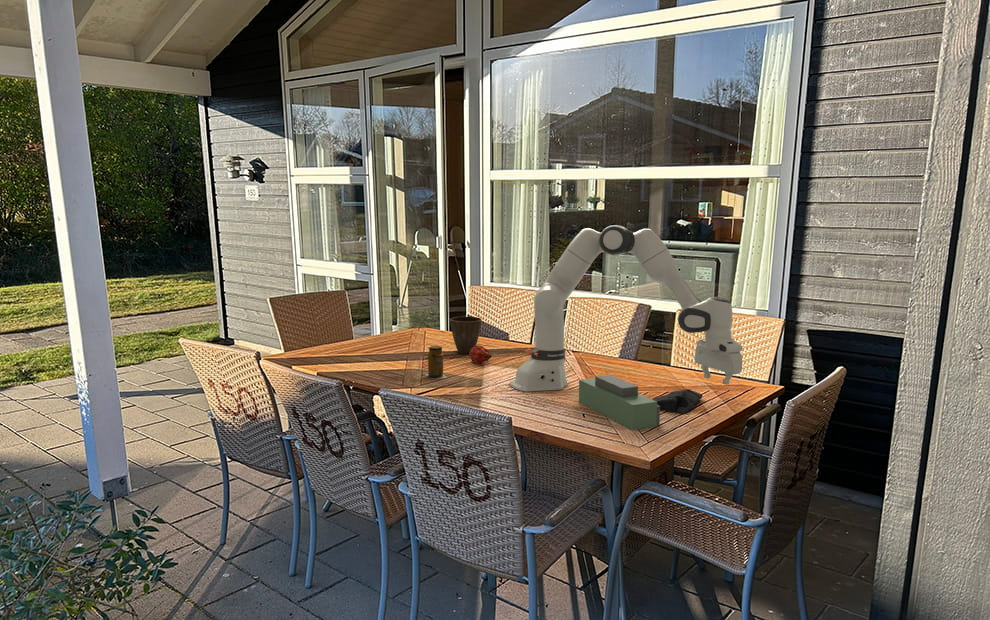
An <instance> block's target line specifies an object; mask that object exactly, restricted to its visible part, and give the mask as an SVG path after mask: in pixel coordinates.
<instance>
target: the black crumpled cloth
mask: <svg viewBox="0 0 990 620" xmlns="http://www.w3.org/2000/svg"><path fill="white" fill-rule="evenodd" d="M651 399H652V400H655V401H657V405H659V406H660V411H663V412H668V413H673V414H674V413H676V414H683V415H685V414H687V412H689V411H691V409H694V407H695V406H696V405H697V403H699V401H700V400H702V399H703V394H702V393H700V392H697V391H694V390H692V389H688V388H687V389H681V390H673V391H671V392H669V393H667V394H665V395H661V396H658V397H655V398H651Z"/></svg>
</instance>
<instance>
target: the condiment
mask: <svg viewBox="0 0 990 620" xmlns="http://www.w3.org/2000/svg"><path fill="white" fill-rule="evenodd" d="M442 349H443V347H442V346H441V345H440V346H439V345H433V346H429V348H428V354H427V369H428V370H427V371H428V373H425V374H424V375H425V376H426V377H427V378H428V379H430V380H440V379H448V377H447V376H446V375H445V374H444V354H443V350H442Z"/></svg>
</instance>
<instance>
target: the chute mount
mask: <svg viewBox="0 0 990 620" xmlns="http://www.w3.org/2000/svg"><path fill="white" fill-rule="evenodd" d="M652 399H653V398H650V397H647V396H645V395H643V394H641V393H639V386H638V385H636V384H634V383H631V382H629V381H626V380H625V379H624V380H623V378H619V377H616V376H615V375H612V374H605V375H596V376H595V377H591V378H583V379H578V403H580V404H582V405H584V406H585V407H587V408H590V409H592V410H594V411H596V412H597V413H599V414H600V415H603V416H605V417H607V418H608V419H610V420H613V421H614V422H616V423H618V424H620V425H621V426H623V427H625V428H627V429H629V430H631V431H635V430H642V429H648V428H654V427H657V426H658V425H660V422H661V421H660V418H661V417H660V416H661V410H660V406H659V405H657V401H655V400H652Z"/></svg>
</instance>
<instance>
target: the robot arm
mask: <svg viewBox="0 0 990 620" xmlns="http://www.w3.org/2000/svg"><path fill="white" fill-rule="evenodd" d="M601 253H605V254H608V255H609V256H615V257H617V256H622V255H625V254H627V253H630V254H631V255H633V256H634V258H635V259H636V260H637V261H638V263H639V265H640V266H641V268H642V270H643V271H644V272H645V273H646V275H647V276H648V277H649V278H650V279H651V280H652V281H654V282H656V283H659V284H662V285H663V286H665V287H666V288H667V289H668V290H669V292H671V294H672V295H673V297H674V298H675V300H676V301H677V303H678V304H679V305H680V307H681V311H680V312H679V314H678V316H677V317H678V318H677V322H678V325H679V327H680V328H681V330H683V331H684V332H686V333H690V334H694V333H695V334H696V333H703V332H704V334H705V335H704V338H700V339H698V340H697V341H696V346H695V352H694V362H695V364H696V365H697V364H698V365H700V366H701V370H702V372H703V378H704V379H706V380H707V379H711V377H712V376H711V372H710V371H709V368H711V369H714V370H717V371H720V372H723V373H724V375H725V377H724V378H722V384H723V385H726V386H727V385H730V380H731V379H732V377H733V375H739V374H741V372H742V369H743V356H742V353H741V352H742V351H743V345H741V344H740V343H739V342H737V341H736V340H735V339H734V338H732V335H733V334H732V325H733V307H732V306H733V305H732V303H731V301H729V300H728V299H726V298H725V297H719V296H709V297H708V298H706V299H705V300H703V301H702V300H700V299H699V298H698V297H697V296H696V295H695V294H694V293H693V291H692V290H691V288H690V287H689V285H688V284H687V282H686V281H685V279H684V277H683V276H682V274H681V272H680V270H679V268H678V267H677V264H676V261H675V260H674V258H673V256H672V254H671V253H670V251H669V249H668V247H667V246H666V245H665V243H664V241H663V240H662V239H661V238H660V237H659V236H658V234H657V233H655V231H654V230H652V229H650V228H642V229H639V230H637V231H636V232H632V231H631V230H628V228H627V227H625V226H623V225H619V224H618V225H616V224H614V225H609V226H607V227H605V228H604V229H603V230H602V231H601V232H599V231H597V230H595V229H592V228H589V227H587V228H583V229H581V230H580V231H579V232H578V233H577V235H575V236H574V238H573V239H572V240H571V241H570V243H569V244H568V245H567V247H566V249H565V250H564V251H563V253H561V256H560V257H559V259H558V260H557V262H556V263H555V265H554V267H553V268H552V270H551V271H550V273H549V274H548V276H547V277H546V279H545V280H544V282H543V284H542V285H541V286H540V288H539V289H538V290H537V291H536V293H535V295H534V299H533V306H534V307H533V308H534V323H535V324H534V325H535V334H534V335H535V338H534V340H535V343H534V344H535V345H534V347H533V349H532V348H526V350H525V351H526V353H527V354H528V355H530V358H529V359H527V360H526V361H525V362H524V363H523V364H522V365H520V366H519V367H518V368H517V369H516V372H515V373H516V374H515V377H514V378H515V379H512V380H509V385H510V387H512V388H513V389H516V390H517V391H520V392H521V391H522V392H524V393H525V392H541V391H555V390H556V391H559V390H560V391H561V390H563V389H564V388H565V387H566V386H568V381H567V380H568V379H567V375H566V370H565V369H566V367H565V361H566V360H565V359H566V348H565V317H564V316H565V311H564V310H565V306H564V305H565V303H566V301H567V300H568V298H569V297H570V296H571V294H572V293H573V291H574V290H575V289H576V287H577V285H578V284H579V283H580V282H581V280H582V279H583V277H584V276H585V274H586V272H587V271H588V270H589V269H590V267H591V265H592V263H593V262H594V261H595V260H596V258H597V257H598V256H599V255H601Z"/></svg>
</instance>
